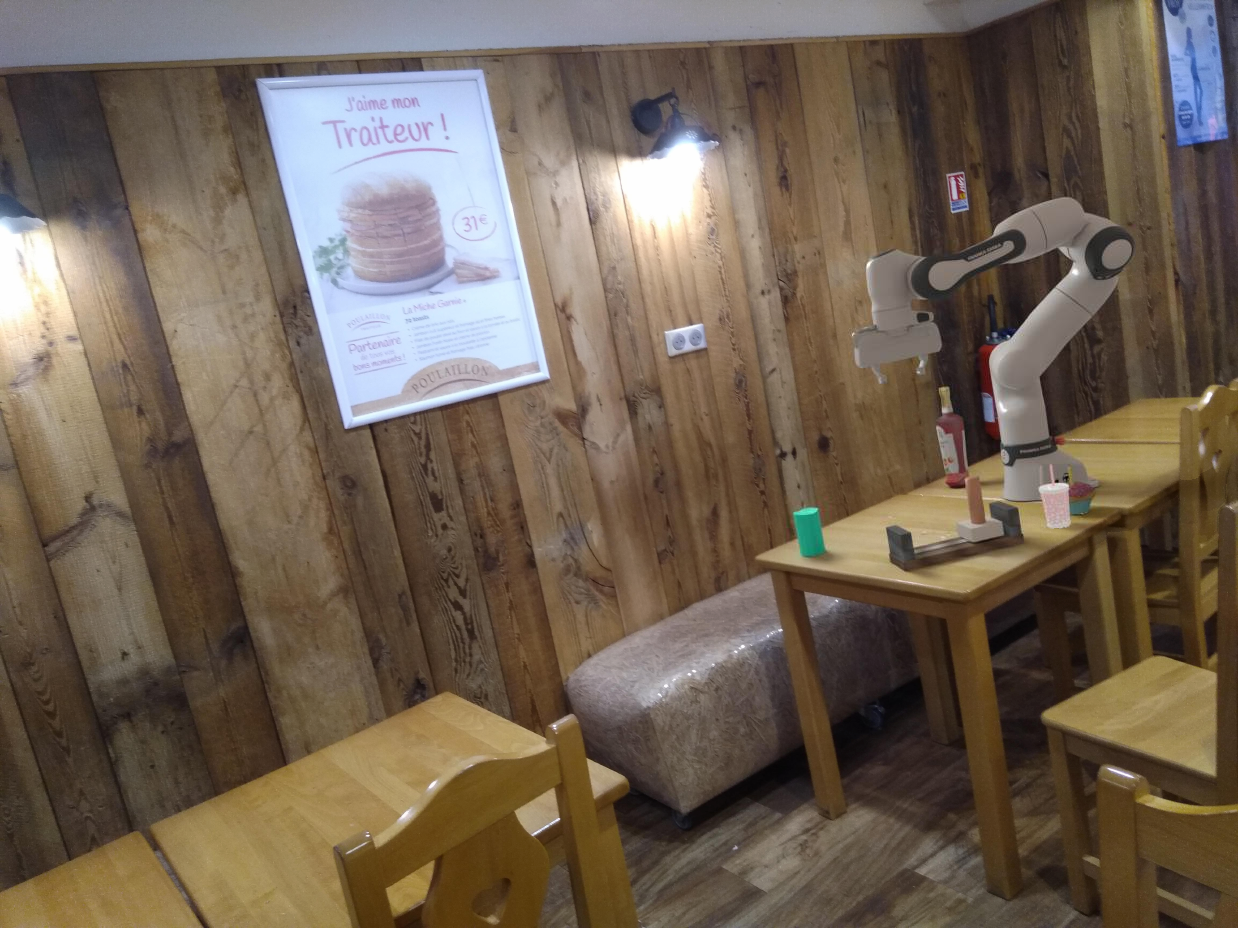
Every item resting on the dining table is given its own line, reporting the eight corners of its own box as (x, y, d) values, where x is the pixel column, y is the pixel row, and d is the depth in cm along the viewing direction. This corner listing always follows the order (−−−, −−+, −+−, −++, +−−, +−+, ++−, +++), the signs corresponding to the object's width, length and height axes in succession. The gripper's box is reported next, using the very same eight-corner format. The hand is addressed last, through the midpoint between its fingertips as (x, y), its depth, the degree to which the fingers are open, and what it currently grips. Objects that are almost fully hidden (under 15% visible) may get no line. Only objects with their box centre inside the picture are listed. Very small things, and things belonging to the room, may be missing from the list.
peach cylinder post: (987, 528, 200) (979, 472, 198) (1003, 535, 194) (995, 476, 192) (957, 535, 200) (949, 478, 198) (973, 542, 193) (964, 484, 191)
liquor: (978, 484, 249) (963, 385, 244) (954, 490, 247) (939, 391, 243) (962, 480, 256) (948, 384, 252) (939, 486, 255) (924, 390, 250)
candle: (823, 546, 222) (815, 500, 220) (827, 553, 216) (818, 505, 214) (799, 551, 222) (790, 504, 220) (802, 557, 216) (793, 510, 215)
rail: (1005, 534, 202) (1000, 500, 200) (1024, 542, 194) (1019, 507, 192) (890, 561, 200) (884, 527, 199) (904, 571, 192) (898, 535, 191)
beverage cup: (1059, 519, 204) (1051, 460, 202) (1080, 523, 198) (1072, 462, 196) (1037, 526, 202) (1029, 466, 200) (1058, 531, 197) (1050, 469, 194)
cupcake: (1096, 516, 201) (1089, 464, 199) (1054, 518, 206) (1047, 468, 204) (1099, 505, 208) (1092, 455, 206) (1058, 508, 213) (1051, 459, 211)
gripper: (855, 330, 207) (865, 389, 209) (939, 311, 208) (948, 370, 210) (845, 330, 213) (855, 387, 215) (928, 312, 215) (936, 369, 217)
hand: (902, 379), depth 213 cm, fingers open, 8 cm apart
